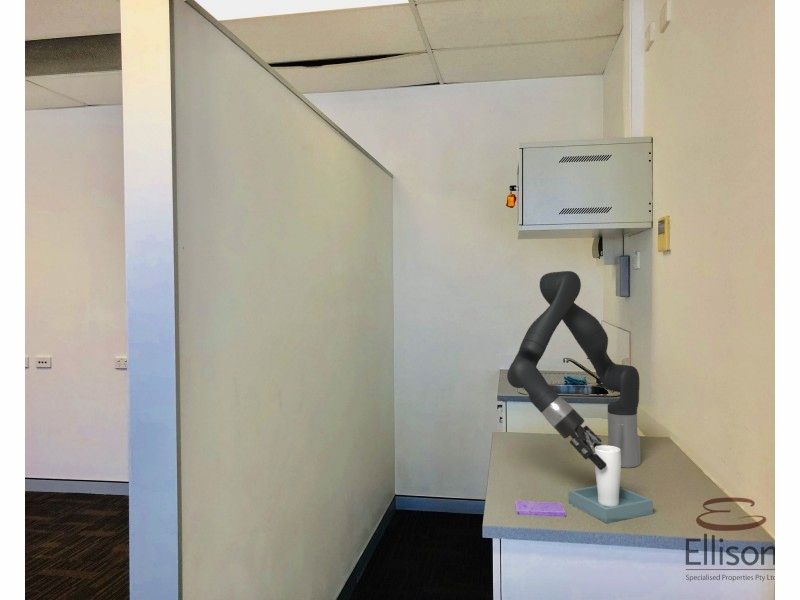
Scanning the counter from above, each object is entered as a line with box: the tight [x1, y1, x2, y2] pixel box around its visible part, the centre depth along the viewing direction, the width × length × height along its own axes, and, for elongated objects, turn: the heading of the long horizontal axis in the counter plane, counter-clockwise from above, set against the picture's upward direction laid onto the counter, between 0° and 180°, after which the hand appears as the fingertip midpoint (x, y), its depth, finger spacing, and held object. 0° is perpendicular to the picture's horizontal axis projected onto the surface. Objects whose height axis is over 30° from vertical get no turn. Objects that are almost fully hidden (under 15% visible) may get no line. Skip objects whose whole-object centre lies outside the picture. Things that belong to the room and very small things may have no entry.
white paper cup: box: [594, 444, 622, 507], centre depth 151 cm, size 7×7×15 cm
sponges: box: [514, 500, 567, 518], centre depth 150 cm, size 7×13×2 cm, turn 81°
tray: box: [567, 485, 654, 524], centre depth 151 cm, size 15×15×4 cm
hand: (606, 463), depth 151 cm, fingers open, 8 cm apart
